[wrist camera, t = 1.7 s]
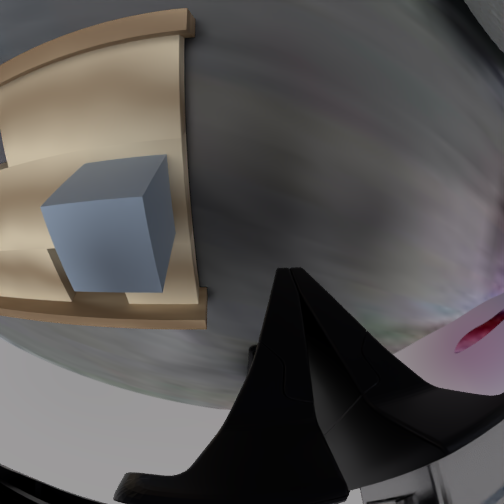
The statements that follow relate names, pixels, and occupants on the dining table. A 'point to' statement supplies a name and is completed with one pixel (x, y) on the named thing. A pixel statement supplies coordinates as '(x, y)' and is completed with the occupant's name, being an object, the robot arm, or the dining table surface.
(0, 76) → the tray
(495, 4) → the cereal bowl
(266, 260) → the dining table surface
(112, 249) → the slate block
